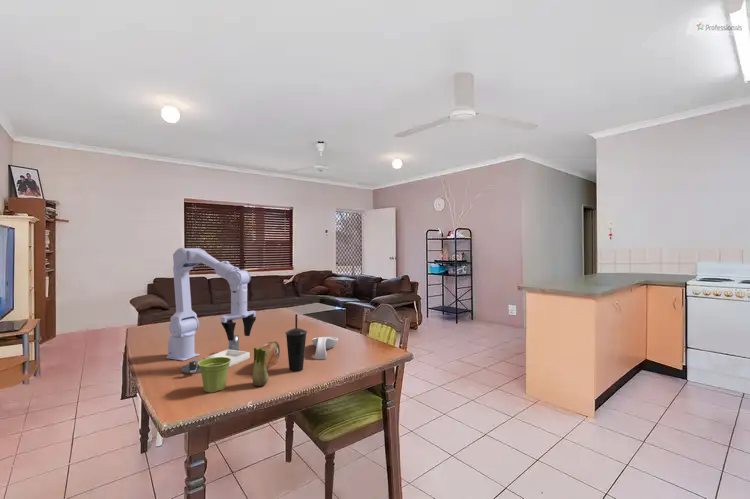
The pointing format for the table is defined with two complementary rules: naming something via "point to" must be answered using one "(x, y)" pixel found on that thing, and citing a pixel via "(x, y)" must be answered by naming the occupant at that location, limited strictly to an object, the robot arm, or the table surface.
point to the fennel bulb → (259, 367)
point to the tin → (271, 353)
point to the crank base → (187, 371)
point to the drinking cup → (296, 347)
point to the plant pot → (214, 373)
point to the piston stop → (234, 343)
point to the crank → (193, 365)
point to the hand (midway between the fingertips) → (239, 338)
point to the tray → (232, 356)
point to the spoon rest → (323, 346)
